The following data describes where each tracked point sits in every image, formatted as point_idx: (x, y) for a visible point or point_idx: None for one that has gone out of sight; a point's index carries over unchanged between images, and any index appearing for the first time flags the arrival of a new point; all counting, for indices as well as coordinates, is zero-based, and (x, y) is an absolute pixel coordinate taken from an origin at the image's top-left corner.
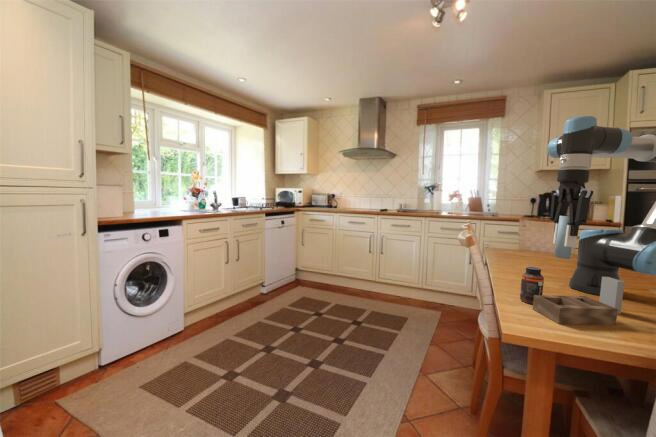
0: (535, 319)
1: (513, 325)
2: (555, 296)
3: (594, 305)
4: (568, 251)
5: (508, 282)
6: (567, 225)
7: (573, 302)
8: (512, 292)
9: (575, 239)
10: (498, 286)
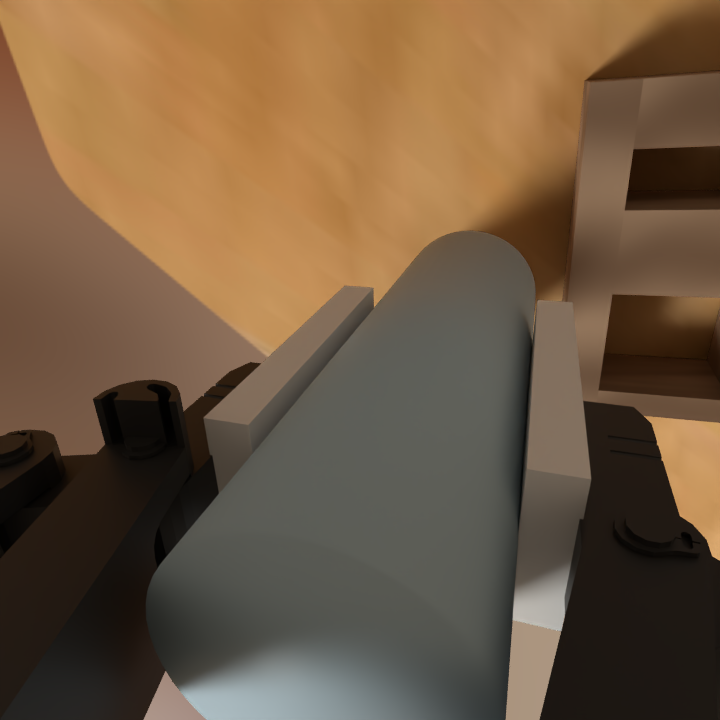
0: (673, 439)
1: (716, 556)
2: (586, 307)
3: None
4: (533, 323)
5: (142, 209)
6: (524, 615)
7: (701, 281)
8: (315, 300)
9: (575, 352)
10: (231, 311)
